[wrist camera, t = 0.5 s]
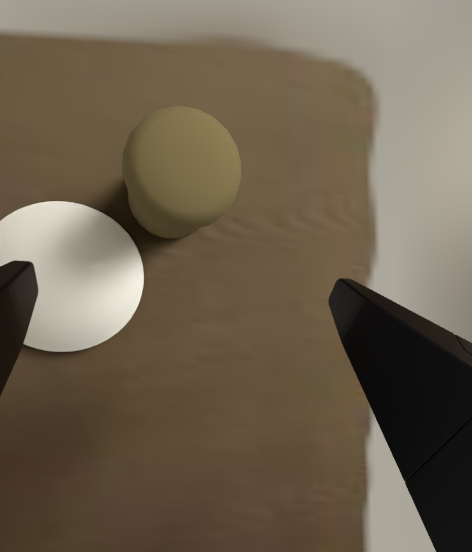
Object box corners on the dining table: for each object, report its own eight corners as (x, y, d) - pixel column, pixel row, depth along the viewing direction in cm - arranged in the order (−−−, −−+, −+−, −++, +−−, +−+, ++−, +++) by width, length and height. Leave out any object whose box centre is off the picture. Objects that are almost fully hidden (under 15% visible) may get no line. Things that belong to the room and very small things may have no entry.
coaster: (75, 373, 22) (71, 380, 21) (-54, 279, 20) (-67, 282, 19) (172, 273, 23) (173, 275, 22) (63, 171, 21) (57, 167, 20)
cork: (133, 242, 22) (119, 246, 12) (121, 155, 22) (93, 77, 11) (215, 234, 24) (265, 232, 13) (207, 153, 23) (254, 82, 13)
